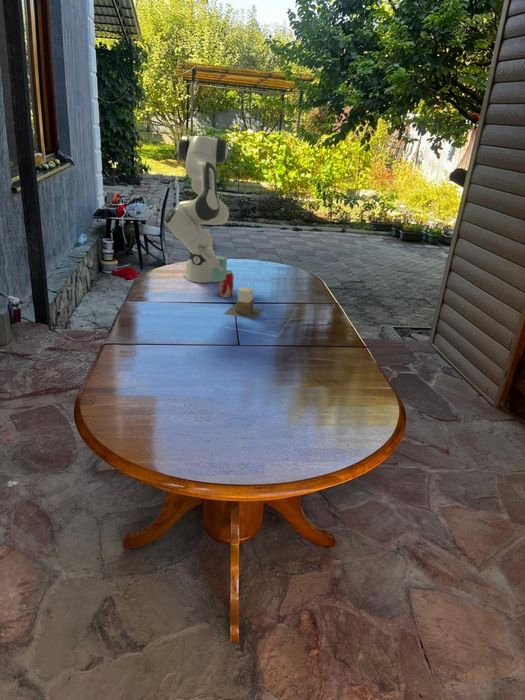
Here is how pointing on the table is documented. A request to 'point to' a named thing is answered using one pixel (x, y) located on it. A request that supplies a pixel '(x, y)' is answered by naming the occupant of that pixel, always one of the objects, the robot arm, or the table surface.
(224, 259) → the green block
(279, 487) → the table surface
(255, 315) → the mat
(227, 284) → the soda can
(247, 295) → the top block
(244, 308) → the base block
